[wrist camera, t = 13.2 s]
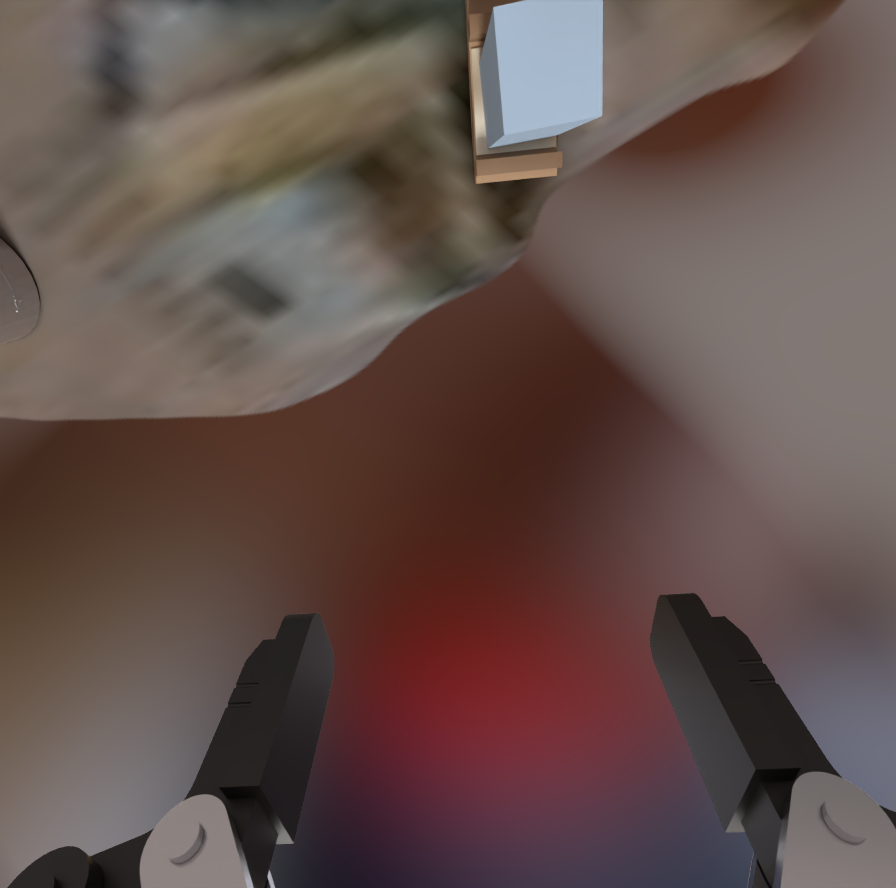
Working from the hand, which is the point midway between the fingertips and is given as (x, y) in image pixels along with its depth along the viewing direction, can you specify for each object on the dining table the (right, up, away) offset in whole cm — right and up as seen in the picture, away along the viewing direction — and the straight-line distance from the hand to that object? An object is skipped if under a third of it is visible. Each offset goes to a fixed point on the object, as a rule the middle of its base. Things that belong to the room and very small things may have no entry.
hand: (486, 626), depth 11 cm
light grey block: (+3, +24, +15) cm, 29 cm away
